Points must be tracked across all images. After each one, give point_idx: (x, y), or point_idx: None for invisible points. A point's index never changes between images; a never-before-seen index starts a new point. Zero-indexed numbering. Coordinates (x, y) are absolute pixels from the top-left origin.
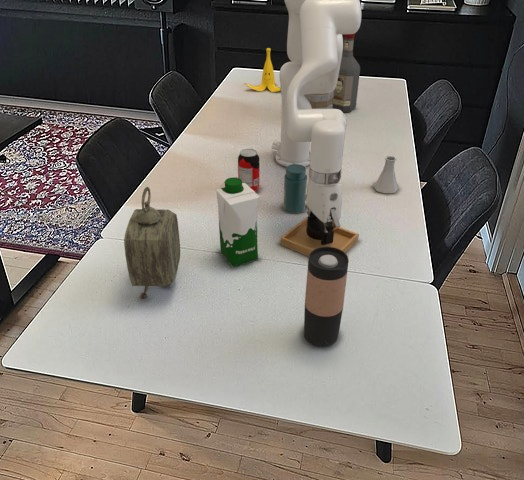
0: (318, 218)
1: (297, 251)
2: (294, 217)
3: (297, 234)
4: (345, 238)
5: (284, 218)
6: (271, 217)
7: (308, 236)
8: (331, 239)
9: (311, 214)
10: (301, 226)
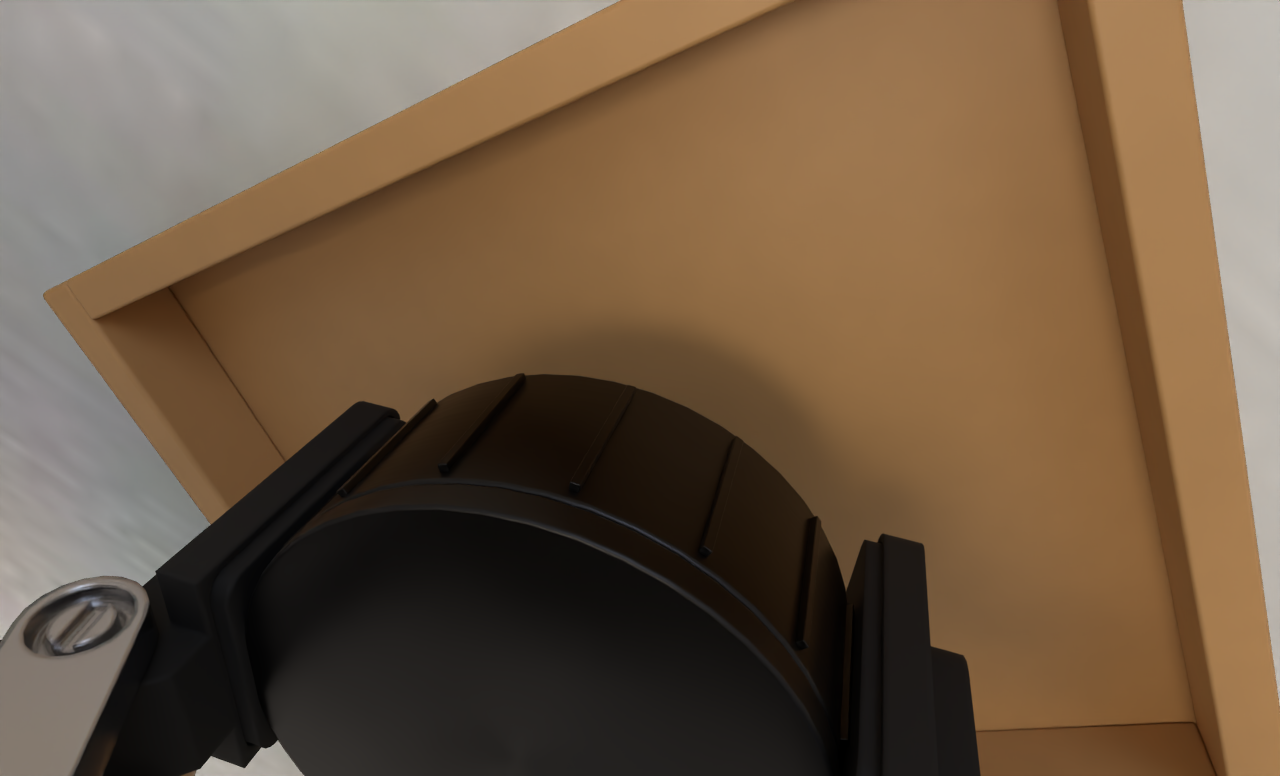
0: (316, 658)
1: None
2: (20, 312)
3: None
4: (853, 70)
5: (35, 417)
6: (10, 501)
7: None
8: (967, 705)
9: (189, 771)
10: (262, 473)
